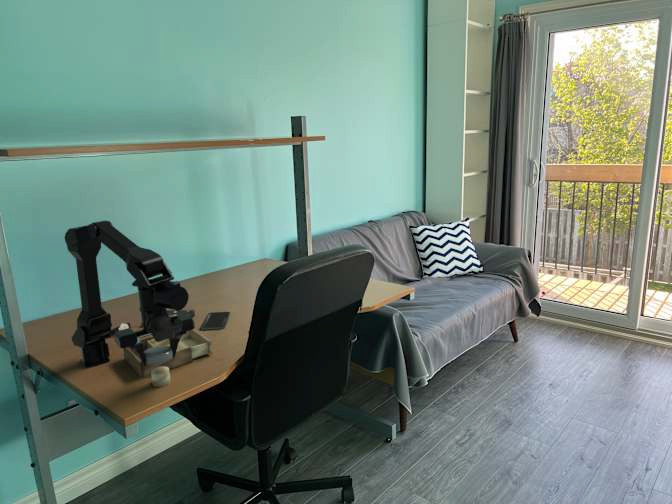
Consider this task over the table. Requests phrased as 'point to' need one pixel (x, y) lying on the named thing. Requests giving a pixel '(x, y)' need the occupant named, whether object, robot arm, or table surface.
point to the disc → (158, 354)
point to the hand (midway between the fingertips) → (159, 361)
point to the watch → (120, 328)
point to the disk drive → (181, 313)
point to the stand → (160, 376)
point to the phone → (215, 321)
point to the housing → (133, 359)
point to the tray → (189, 343)
